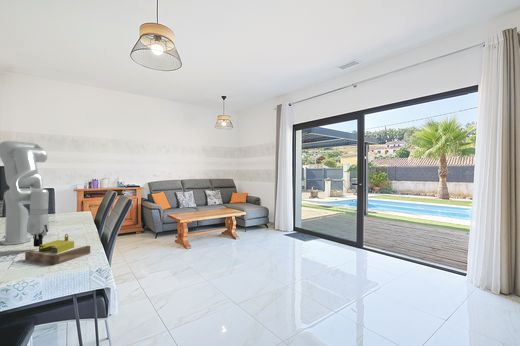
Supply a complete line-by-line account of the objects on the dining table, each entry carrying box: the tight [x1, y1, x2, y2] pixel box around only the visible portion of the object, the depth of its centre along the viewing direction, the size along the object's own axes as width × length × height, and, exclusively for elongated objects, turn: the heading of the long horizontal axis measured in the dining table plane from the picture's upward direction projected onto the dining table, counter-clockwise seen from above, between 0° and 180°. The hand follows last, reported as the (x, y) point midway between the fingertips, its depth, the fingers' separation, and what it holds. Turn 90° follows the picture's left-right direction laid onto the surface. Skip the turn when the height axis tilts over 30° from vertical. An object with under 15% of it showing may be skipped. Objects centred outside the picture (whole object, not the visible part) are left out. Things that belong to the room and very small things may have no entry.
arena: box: [24, 245, 91, 266], centre depth 124 cm, size 19×18×4 cm
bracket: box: [38, 233, 75, 254], centre depth 133 cm, size 16×8×15 cm
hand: (38, 245), depth 135 cm, fingers closed
